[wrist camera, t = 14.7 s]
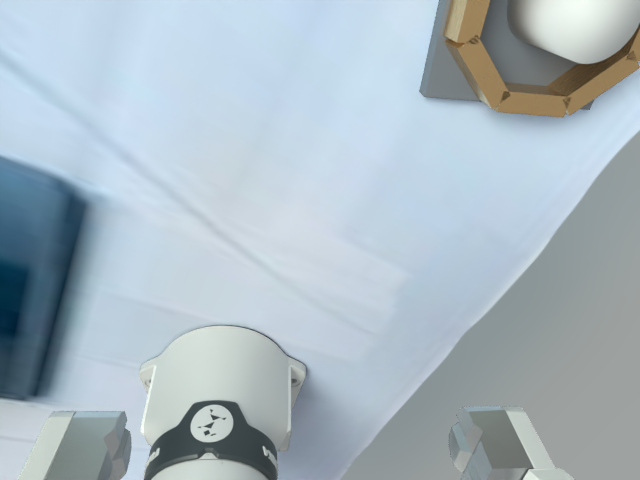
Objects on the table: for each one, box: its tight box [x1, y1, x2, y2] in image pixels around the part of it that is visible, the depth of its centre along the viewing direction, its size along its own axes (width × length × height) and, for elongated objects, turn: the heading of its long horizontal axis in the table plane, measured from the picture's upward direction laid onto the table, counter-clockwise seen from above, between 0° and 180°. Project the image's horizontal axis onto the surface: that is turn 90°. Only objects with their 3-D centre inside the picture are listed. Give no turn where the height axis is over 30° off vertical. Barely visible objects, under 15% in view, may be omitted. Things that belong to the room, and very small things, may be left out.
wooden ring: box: [443, 0, 640, 117], centre depth 31 cm, size 14×14×3 cm
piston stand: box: [420, 0, 640, 110], centre depth 29 cm, size 14×14×8 cm
